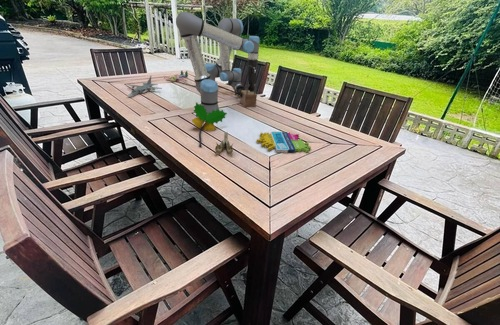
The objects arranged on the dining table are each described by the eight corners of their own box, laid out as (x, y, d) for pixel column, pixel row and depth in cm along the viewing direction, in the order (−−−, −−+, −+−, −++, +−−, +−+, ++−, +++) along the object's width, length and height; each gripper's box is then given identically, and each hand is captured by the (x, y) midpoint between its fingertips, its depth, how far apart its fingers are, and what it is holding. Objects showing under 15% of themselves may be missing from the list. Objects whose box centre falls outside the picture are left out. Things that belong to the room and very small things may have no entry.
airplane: (121, 87, 235) (119, 76, 230) (157, 85, 248) (156, 74, 243) (125, 100, 206) (123, 87, 201) (166, 97, 219) (165, 85, 214)
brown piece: (257, 96, 206) (257, 84, 201) (245, 96, 203) (246, 84, 198) (251, 91, 217) (252, 80, 213) (240, 91, 214) (241, 80, 210)
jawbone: (234, 135, 144) (233, 125, 135) (233, 160, 138) (232, 151, 129) (217, 135, 144) (216, 125, 135) (216, 160, 138) (214, 150, 129)
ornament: (218, 133, 171) (224, 110, 169) (221, 134, 163) (227, 111, 161) (186, 125, 162) (192, 101, 160) (189, 126, 155) (195, 101, 153)
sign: (313, 150, 142) (258, 149, 139) (312, 153, 143) (258, 152, 140) (301, 132, 164) (254, 130, 161) (301, 134, 165) (254, 133, 162)
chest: (255, 106, 211) (256, 96, 206) (244, 107, 208) (245, 96, 204) (250, 102, 221) (251, 91, 217) (240, 102, 219) (240, 91, 214)
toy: (196, 71, 285) (184, 76, 259) (196, 78, 288) (184, 83, 262) (173, 69, 290) (158, 73, 264) (173, 75, 293) (159, 80, 267)
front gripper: (261, 61, 187) (258, 93, 199) (254, 57, 200) (252, 88, 212) (251, 60, 185) (249, 93, 196) (244, 57, 198) (243, 88, 210)
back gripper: (251, 92, 237) (259, 99, 219) (227, 93, 230) (234, 100, 212) (251, 84, 233) (260, 91, 215) (227, 84, 227) (234, 91, 208)
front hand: (250, 91), depth 204 cm, fingers open, 3 cm apart
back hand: (247, 95), depth 213 cm, fingers closed on chest, 9 cm apart
